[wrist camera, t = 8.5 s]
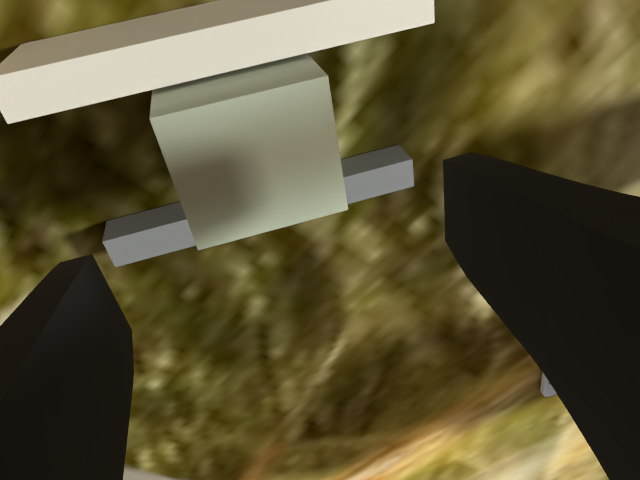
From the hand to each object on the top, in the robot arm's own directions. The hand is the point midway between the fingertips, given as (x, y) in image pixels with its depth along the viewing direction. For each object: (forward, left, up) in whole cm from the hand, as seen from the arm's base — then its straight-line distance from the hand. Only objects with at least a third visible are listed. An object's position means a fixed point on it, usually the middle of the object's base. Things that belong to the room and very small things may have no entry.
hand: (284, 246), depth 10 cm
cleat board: (-1, 0, -10) cm, 10 cm away
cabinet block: (0, 0, -10) cm, 10 cm away
